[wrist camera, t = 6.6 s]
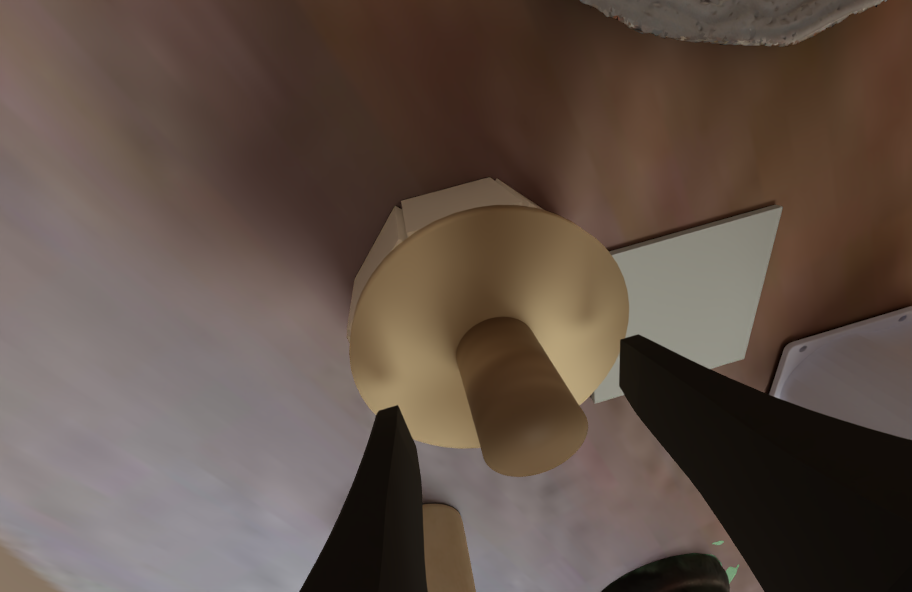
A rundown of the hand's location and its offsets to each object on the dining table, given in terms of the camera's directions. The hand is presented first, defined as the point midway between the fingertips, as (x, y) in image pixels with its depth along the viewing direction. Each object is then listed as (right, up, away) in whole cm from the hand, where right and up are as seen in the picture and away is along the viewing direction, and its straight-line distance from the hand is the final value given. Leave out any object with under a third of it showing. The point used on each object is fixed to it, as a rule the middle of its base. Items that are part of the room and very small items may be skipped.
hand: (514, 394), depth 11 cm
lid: (-1, +1, +3) cm, 3 cm away
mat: (+10, +2, +9) cm, 14 cm away
